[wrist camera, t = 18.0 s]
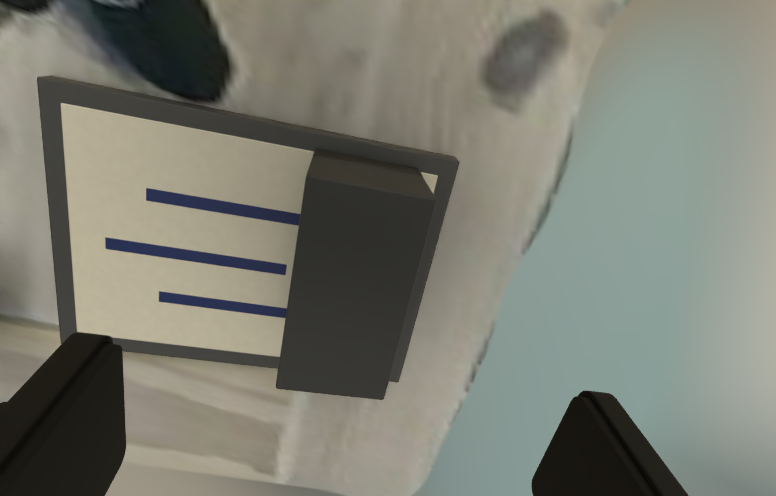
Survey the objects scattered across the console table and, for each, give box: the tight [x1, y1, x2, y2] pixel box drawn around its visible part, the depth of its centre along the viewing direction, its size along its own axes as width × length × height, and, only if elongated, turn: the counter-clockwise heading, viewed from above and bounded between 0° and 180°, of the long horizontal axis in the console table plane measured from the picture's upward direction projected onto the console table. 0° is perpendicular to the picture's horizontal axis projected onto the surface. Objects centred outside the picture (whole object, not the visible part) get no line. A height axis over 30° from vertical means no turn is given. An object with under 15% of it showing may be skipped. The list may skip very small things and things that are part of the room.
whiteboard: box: [37, 76, 459, 382], centre depth 18 cm, size 11×15×1 cm
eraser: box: [276, 148, 436, 400], centre depth 16 cm, size 8×4×4 cm, turn 168°
